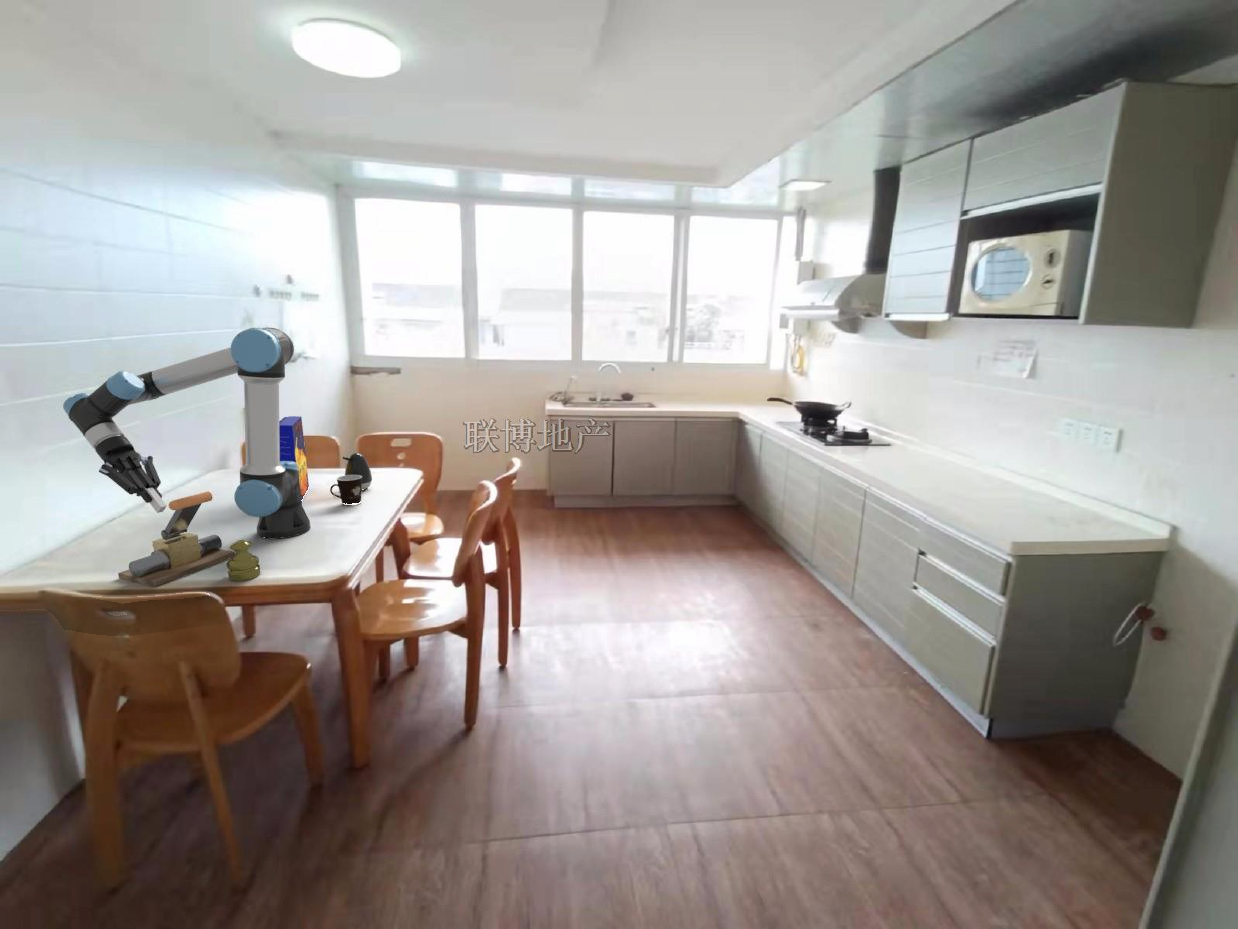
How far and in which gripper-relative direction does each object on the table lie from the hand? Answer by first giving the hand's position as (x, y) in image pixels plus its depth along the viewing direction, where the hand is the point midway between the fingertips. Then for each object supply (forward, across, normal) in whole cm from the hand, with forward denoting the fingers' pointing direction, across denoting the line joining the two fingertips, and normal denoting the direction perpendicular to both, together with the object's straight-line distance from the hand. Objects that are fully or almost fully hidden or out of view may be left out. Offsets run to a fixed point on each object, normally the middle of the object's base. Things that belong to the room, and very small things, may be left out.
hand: (162, 509), depth 162 cm
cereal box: (-4, -63, -28) cm, 69 cm away
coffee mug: (+13, -64, -10) cm, 66 cm away
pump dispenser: (+5, -81, -18) cm, 83 cm away
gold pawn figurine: (+29, -2, +6) cm, 30 cm away
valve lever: (+7, 0, -4) cm, 8 cm away
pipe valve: (+14, 0, -9) cm, 17 cm away
